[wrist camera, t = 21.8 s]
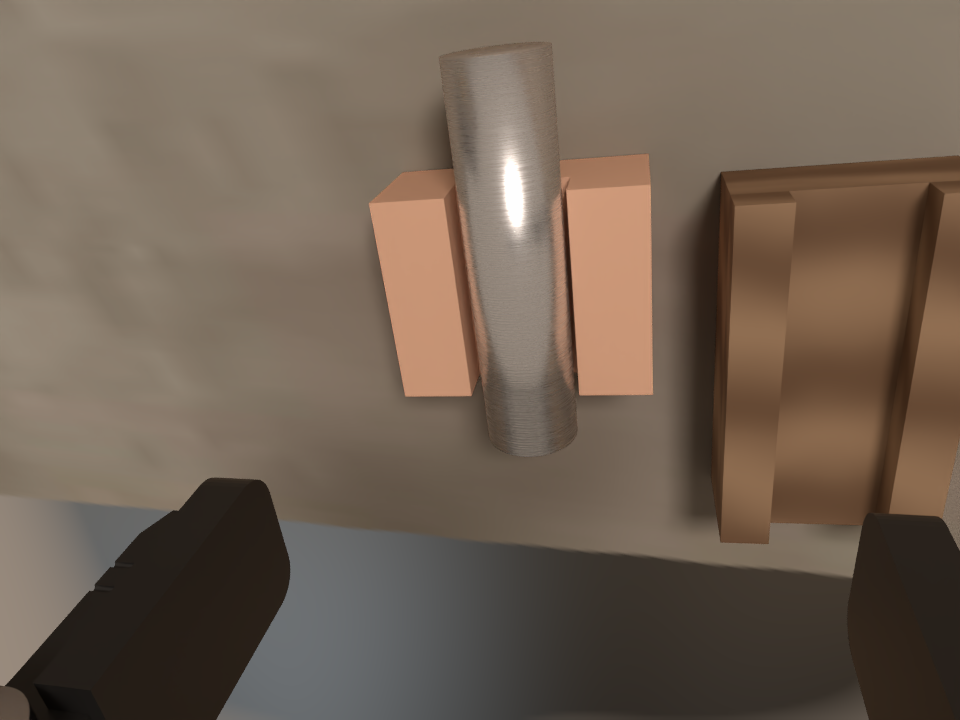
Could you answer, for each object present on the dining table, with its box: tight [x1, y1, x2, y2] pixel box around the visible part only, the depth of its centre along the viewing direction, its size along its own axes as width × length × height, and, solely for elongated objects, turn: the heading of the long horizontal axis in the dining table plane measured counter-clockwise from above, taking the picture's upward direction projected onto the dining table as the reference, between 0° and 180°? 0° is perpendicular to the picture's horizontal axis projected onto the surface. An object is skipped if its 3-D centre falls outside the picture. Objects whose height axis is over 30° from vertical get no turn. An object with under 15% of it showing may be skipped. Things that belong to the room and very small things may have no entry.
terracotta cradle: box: [369, 154, 653, 396], centre depth 33 cm, size 9×11×5 cm
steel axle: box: [439, 42, 578, 457], centre depth 30 cm, size 16×4×4 cm, turn 6°
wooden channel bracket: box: [711, 156, 960, 544], centre depth 32 cm, size 16×9×5 cm, turn 6°
